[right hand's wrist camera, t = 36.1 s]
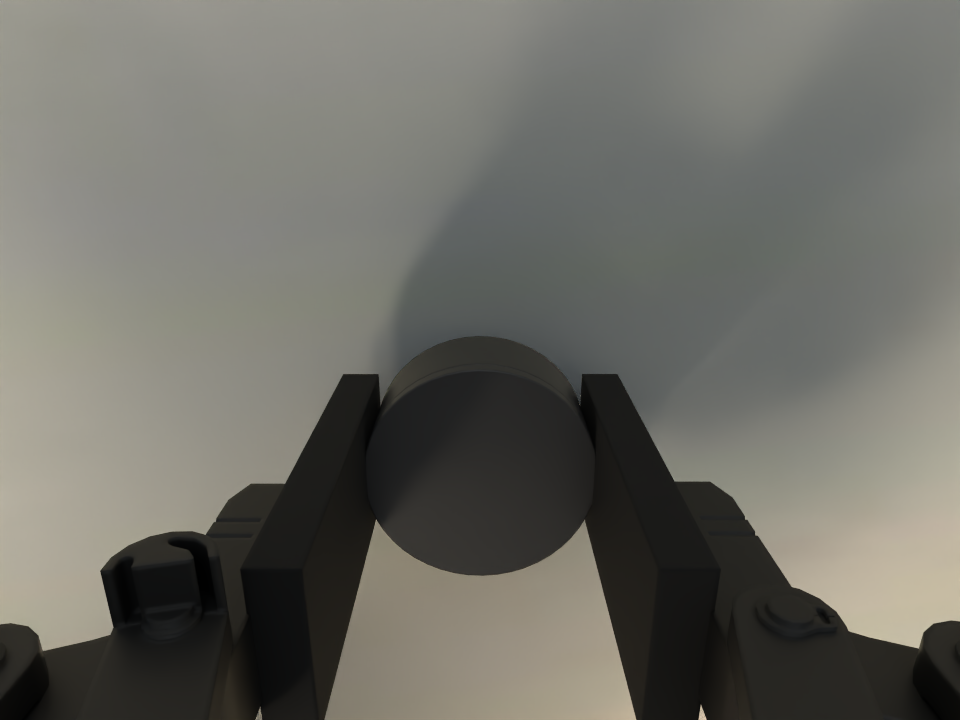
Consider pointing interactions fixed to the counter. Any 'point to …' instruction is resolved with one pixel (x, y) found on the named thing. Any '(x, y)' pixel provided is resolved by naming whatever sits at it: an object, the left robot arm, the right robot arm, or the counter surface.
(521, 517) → the cap
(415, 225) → the counter surface
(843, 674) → the right robot arm
